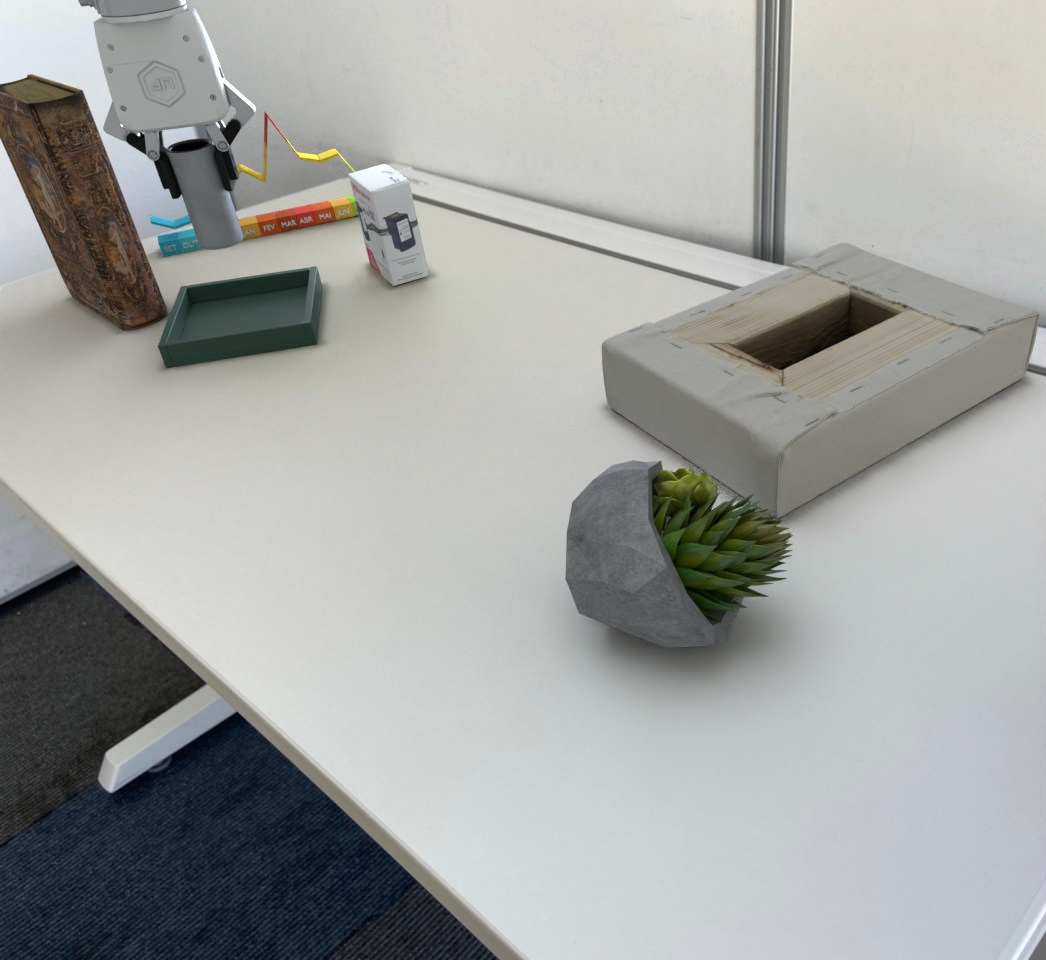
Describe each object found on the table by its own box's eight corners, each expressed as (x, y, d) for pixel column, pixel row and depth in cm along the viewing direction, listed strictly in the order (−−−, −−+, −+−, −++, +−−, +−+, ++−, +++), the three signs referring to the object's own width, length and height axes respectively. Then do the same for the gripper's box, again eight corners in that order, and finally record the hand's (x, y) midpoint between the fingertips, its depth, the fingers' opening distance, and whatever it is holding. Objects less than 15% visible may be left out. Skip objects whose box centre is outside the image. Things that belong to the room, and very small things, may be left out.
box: (781, 528, 75) (1031, 377, 90) (781, 444, 70) (1044, 299, 85) (602, 415, 90) (841, 302, 105) (593, 340, 86) (843, 233, 101)
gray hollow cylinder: (227, 231, 107) (195, 135, 101) (252, 238, 105) (221, 141, 99) (191, 245, 104) (156, 148, 98) (216, 253, 102) (182, 154, 96)
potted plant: (612, 492, 74) (806, 460, 69) (621, 663, 71) (826, 644, 65) (535, 454, 63) (759, 413, 58) (542, 654, 60) (779, 630, 54)
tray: (166, 368, 103) (157, 346, 101) (188, 306, 115) (180, 286, 114) (316, 344, 105) (310, 322, 104) (322, 286, 118) (316, 265, 116)
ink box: (368, 265, 122) (345, 171, 115) (405, 254, 124) (385, 161, 117) (392, 287, 116) (369, 190, 109) (431, 276, 118) (411, 179, 111)
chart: (163, 257, 129) (120, 142, 120) (162, 249, 131) (120, 136, 122) (390, 209, 138) (365, 98, 129) (385, 202, 140) (360, 93, 132)
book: (173, 315, 114) (88, 91, 99) (127, 333, 110) (32, 105, 96) (114, 281, 123) (28, 72, 108) (70, 297, 120) (-24, 84, 105)
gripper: (32, 16, 86) (111, 215, 97) (229, -6, 89) (285, 191, 99) (54, 1, 92) (126, 191, 103) (238, -19, 95) (290, 168, 105)
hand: (204, 189), depth 101 cm, fingers closed on gray hollow cylinder, 4 cm apart
